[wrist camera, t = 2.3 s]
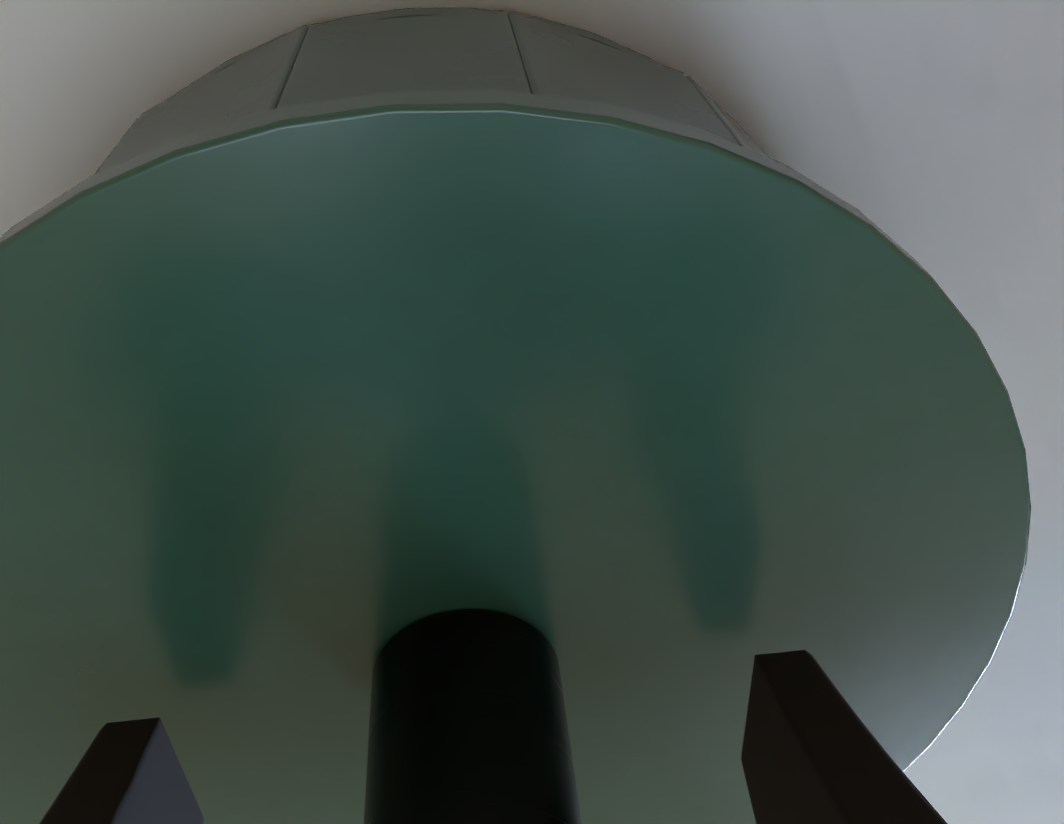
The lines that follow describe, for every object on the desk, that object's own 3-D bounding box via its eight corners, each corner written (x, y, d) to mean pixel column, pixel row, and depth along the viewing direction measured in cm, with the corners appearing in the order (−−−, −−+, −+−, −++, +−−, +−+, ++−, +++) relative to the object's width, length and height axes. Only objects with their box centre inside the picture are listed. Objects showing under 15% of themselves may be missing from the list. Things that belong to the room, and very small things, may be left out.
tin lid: (1142, 13, 9) (1721, 236, 5) (888, 839, 18) (1029, 1174, 14) (-414, 129, 9) (-1197, 493, 4) (93, 930, 17) (-13, 1313, 13)
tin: (886, -27, 14) (1113, 89, 9) (784, 625, 21) (878, 858, 17) (-93, 42, 13) (-368, 203, 8) (173, 688, 21) (104, 948, 16)
